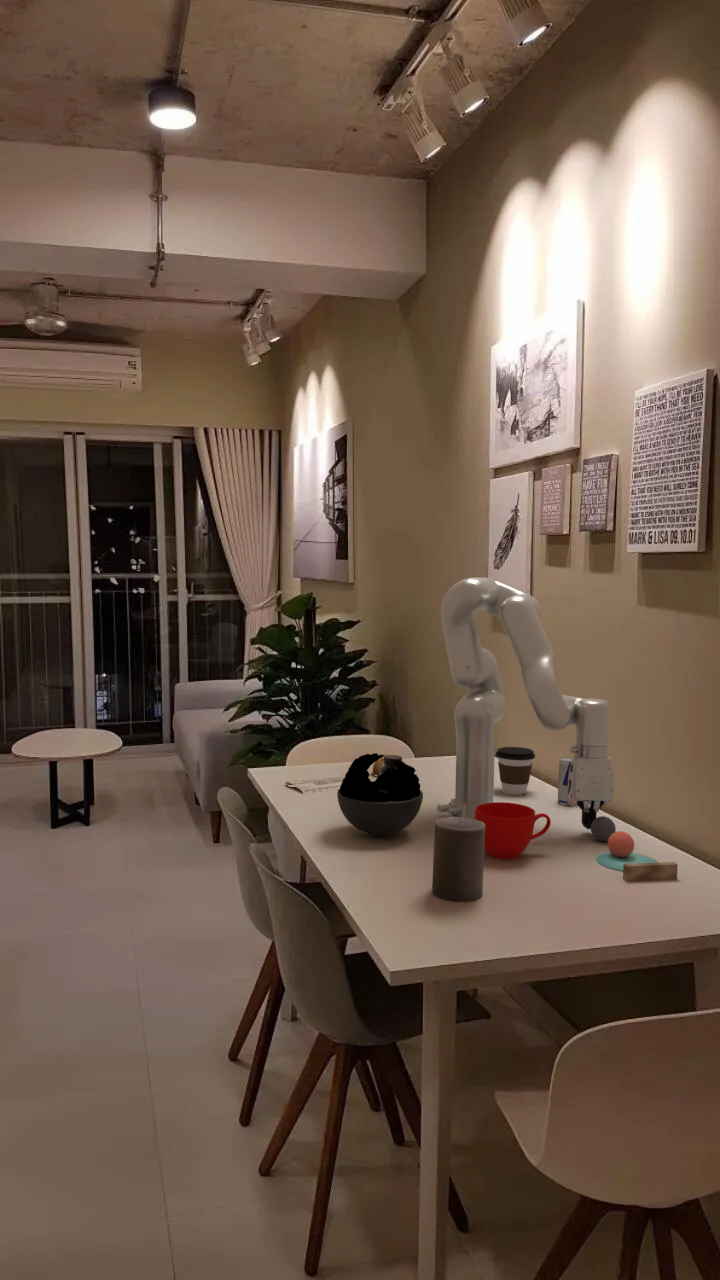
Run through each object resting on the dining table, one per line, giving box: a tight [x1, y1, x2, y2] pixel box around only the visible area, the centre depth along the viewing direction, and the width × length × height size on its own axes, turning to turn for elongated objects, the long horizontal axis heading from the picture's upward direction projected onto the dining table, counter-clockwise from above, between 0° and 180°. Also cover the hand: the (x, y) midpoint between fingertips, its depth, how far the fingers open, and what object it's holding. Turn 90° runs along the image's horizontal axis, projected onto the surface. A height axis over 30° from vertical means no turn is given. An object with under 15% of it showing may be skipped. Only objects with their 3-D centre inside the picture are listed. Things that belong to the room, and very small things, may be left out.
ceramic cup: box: [475, 801, 552, 860], centre depth 199 cm, size 13×17×10 cm
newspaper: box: [285, 774, 345, 793], centre depth 259 cm, size 23×12×2 cm, turn 122°
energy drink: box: [557, 757, 574, 806], centre depth 242 cm, size 5×5×12 cm
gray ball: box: [590, 815, 617, 842], centre depth 210 cm, size 6×6×6 cm
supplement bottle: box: [380, 754, 403, 775], centre depth 242 cm, size 7×7×12 cm
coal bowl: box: [336, 752, 424, 837], centre depth 212 cm, size 20×20×19 cm
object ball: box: [607, 831, 635, 858], centre depth 198 cm, size 6×6×6 cm
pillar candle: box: [431, 816, 485, 903], centre depth 174 cm, size 10×10×15 cm
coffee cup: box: [495, 746, 536, 796], centre depth 253 cm, size 11×11×12 cm
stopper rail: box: [622, 861, 679, 882], centre depth 185 cm, size 11×2×3 cm, turn 99°
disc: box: [596, 851, 660, 872], centre depth 195 cm, size 13×13×1 cm
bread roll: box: [372, 753, 406, 776], centre depth 273 cm, size 10×10×8 cm
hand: (588, 827), depth 215 cm, fingers closed
